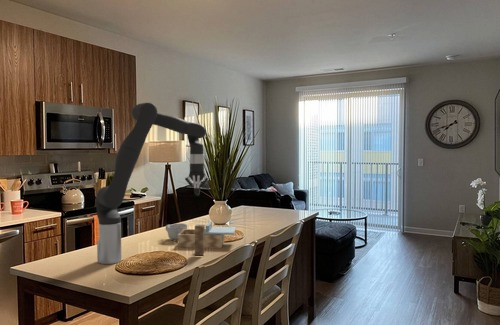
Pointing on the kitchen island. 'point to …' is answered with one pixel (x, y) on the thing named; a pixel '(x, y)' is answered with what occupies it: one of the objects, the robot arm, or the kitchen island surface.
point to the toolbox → (188, 239)
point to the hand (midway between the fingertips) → (197, 195)
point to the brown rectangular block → (199, 239)
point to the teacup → (175, 230)
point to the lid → (219, 230)
